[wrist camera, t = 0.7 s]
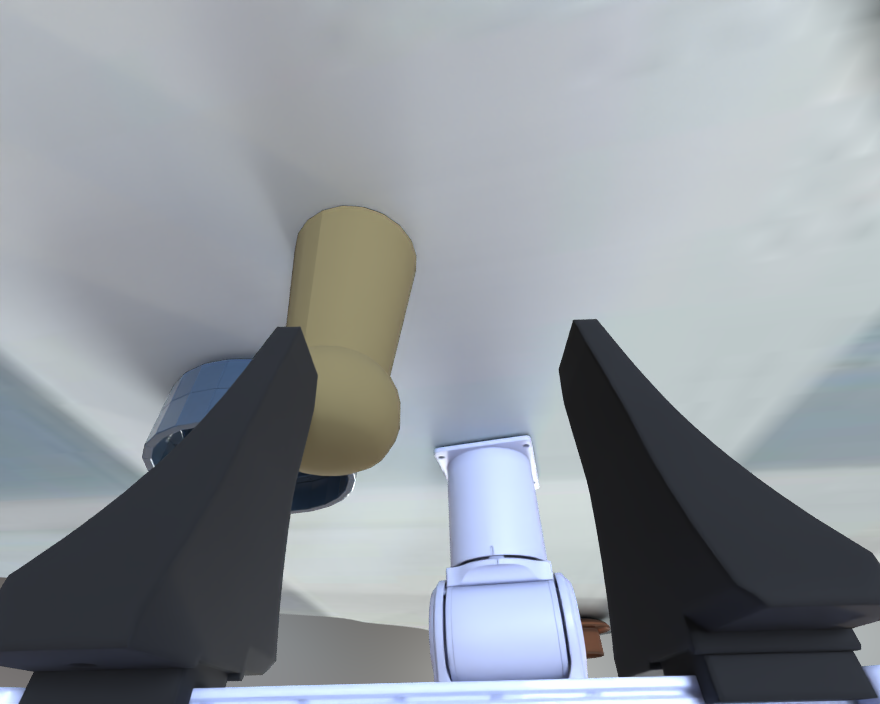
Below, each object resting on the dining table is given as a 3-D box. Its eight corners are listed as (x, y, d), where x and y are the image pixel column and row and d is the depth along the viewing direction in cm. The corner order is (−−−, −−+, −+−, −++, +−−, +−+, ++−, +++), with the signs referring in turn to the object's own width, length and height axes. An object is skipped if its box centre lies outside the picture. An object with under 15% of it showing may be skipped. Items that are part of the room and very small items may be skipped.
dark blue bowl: (386, 443, 35) (382, 502, 32) (243, 464, 38) (225, 522, 34) (314, 336, 26) (298, 405, 23) (129, 372, 28) (89, 440, 25)
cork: (423, 301, 24) (420, 491, 17) (315, 308, 24) (267, 499, 17) (408, 200, 20) (396, 400, 12) (276, 211, 20) (188, 413, 13)
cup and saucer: (584, 627, 97) (591, 661, 93) (537, 624, 93) (543, 659, 89) (620, 616, 88) (629, 652, 84) (570, 612, 85) (578, 650, 81)
